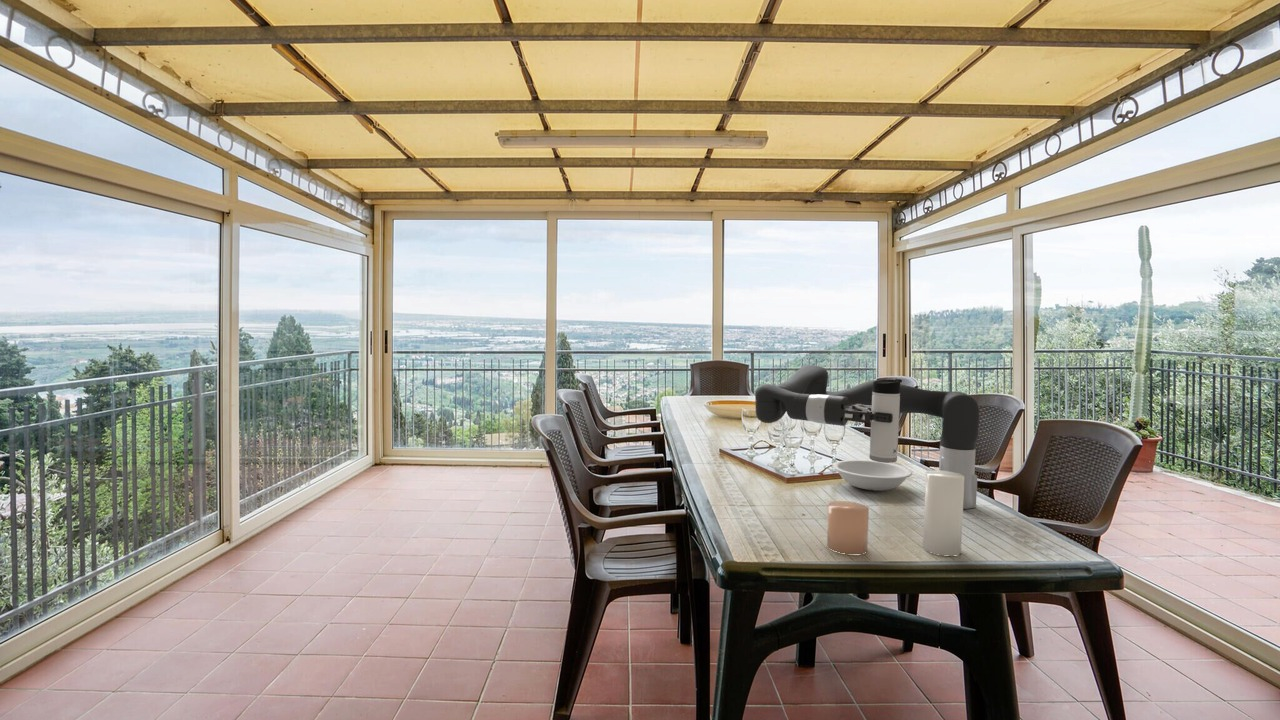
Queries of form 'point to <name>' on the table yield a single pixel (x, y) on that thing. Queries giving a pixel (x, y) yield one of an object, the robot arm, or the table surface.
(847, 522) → the peach rounded cylinder
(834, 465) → the soup bowl
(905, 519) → the table surface
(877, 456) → the travel mug
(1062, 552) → the table surface
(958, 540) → the tall white cylinder
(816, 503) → the table surface
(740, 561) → the table surface
